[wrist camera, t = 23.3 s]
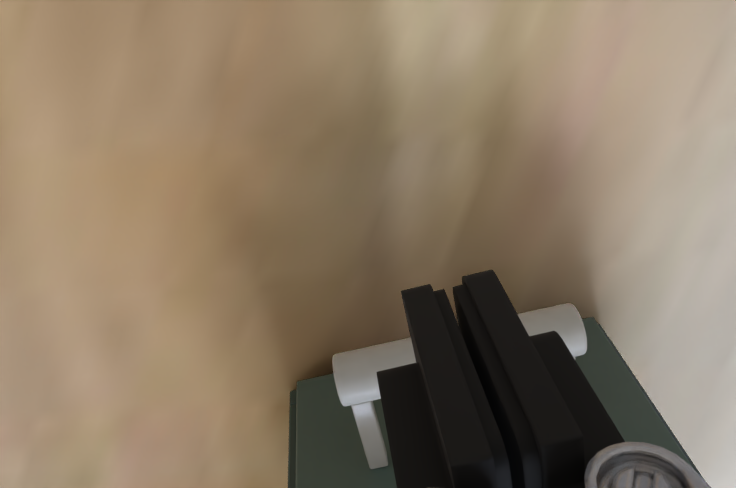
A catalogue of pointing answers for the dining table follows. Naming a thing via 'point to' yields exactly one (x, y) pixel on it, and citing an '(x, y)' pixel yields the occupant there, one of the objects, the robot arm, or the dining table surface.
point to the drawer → (360, 366)
